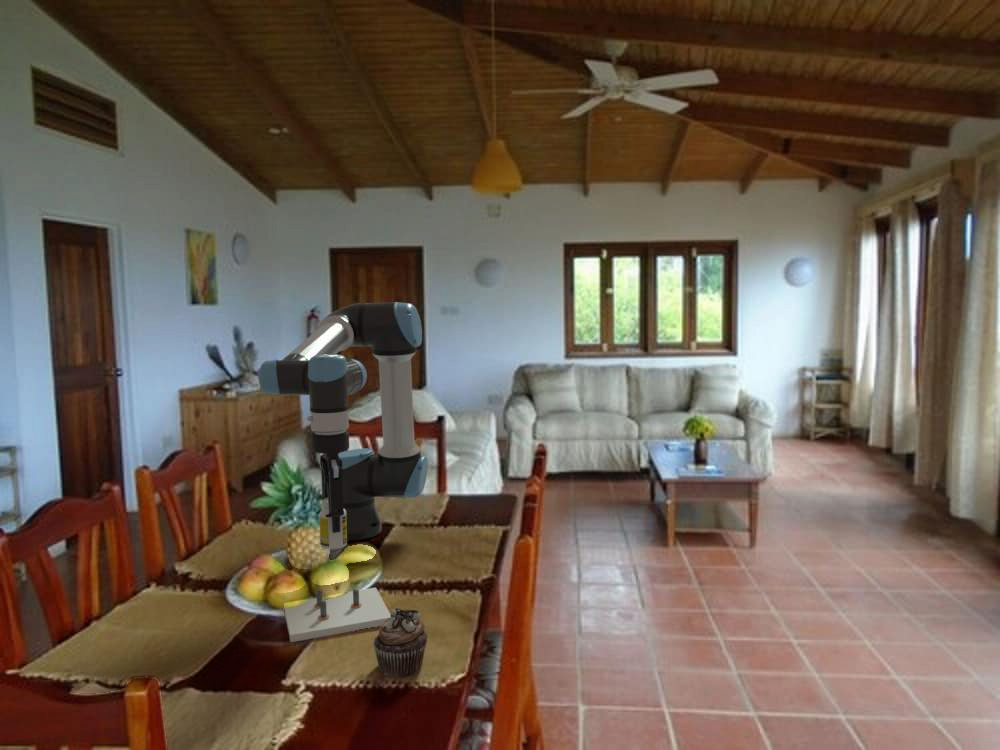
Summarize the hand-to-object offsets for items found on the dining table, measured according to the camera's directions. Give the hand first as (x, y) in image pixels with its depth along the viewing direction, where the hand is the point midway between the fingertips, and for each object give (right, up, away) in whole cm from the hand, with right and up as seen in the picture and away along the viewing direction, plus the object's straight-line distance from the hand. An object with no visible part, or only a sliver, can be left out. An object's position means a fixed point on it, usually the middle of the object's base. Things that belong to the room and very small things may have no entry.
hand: (333, 541), depth 148 cm
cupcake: (+16, -19, -18) cm, 31 cm away
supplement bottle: (0, -1, 0) cm, 1 cm away
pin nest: (0, -16, +2) cm, 16 cm away
